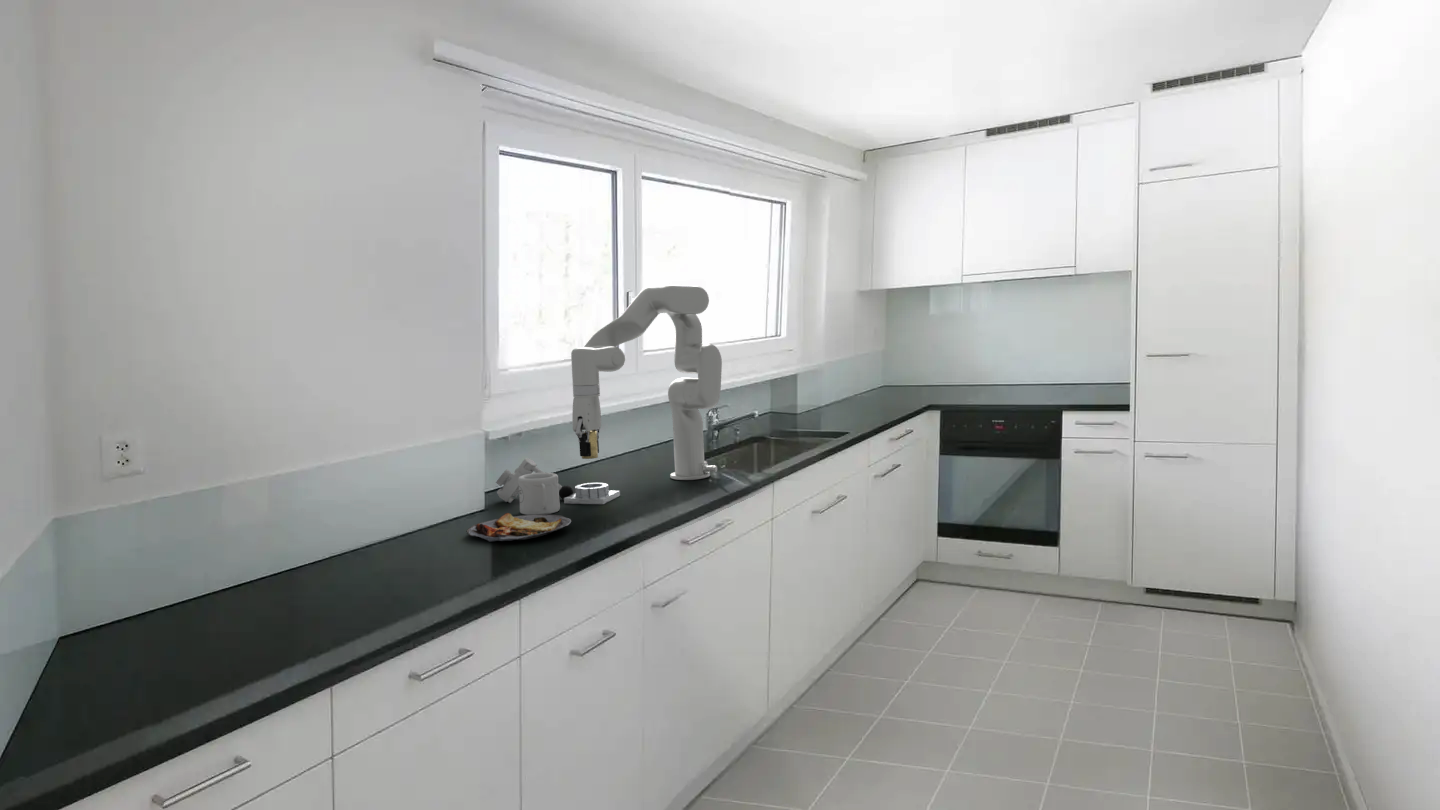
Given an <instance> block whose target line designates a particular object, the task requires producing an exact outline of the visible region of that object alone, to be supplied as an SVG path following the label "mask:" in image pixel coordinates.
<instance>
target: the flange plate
mask: <svg viewBox="0 0 1440 810" xmlns="http://www.w3.org/2000/svg"><path fill="white" fill-rule="evenodd" d="M574 490H575V493H574V492H573V494H572V495H570V496H568V497H566V498H564V500H563V501H564V502H563V503H564V504H570V505H571V504H572V505H573V504H576V505H577V504H578V505H579V504H580V505H605V504H607V503H609V502H610V501H612V500H614V499H617V498H618V497H620V496H621V490H610V486H609V484H608V483H606V482H587V483H581V484H577V485H575V486H574Z"/></svg>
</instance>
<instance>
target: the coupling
mask: <svg viewBox="0 0 1440 810" xmlns="http://www.w3.org/2000/svg"><path fill="white" fill-rule="evenodd" d="M585 436H586V434H585ZM597 440H598V439H597V431H590V434H589V442H590V443H591V456H581V459H582V460H589V459H590V460H591V459H597V458H599V453H598V448H597Z"/></svg>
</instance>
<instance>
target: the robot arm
mask: <svg viewBox="0 0 1440 810" xmlns="http://www.w3.org/2000/svg"><path fill="white" fill-rule="evenodd" d="M709 302H710V299H709V294H708V292H707V291H706V290H705V288H703V287H701V286H698V285H682V284H681V285H679V284H670V283H669V284H655V285H654V284H652V285H648V286H645V287H643V288H642V289H641V290H640V292H639V293H638V294H637V295H636V296H635V297H634V299H633V300H632V301H631V303H630V304H629V305H628V306H627V307H626V309H625V310H624V311H623V313H621V315H619V317H617V318H615V319H614V320H611V322H609V323H608V324H607V325H605V326H604V327H602V328H600V329H599V330H598V331H597V332H595V333H594V334H593V335H592V337H591V338H590V339H589V340H588V341H587V342H586V343H585V345H583V346H584V347H577V348H574V349H572V351H571V352H570V355H571V356H570V357H571V375H572V376H571V378H572V396H573V401H572V431H573V432H575V435H576V436H577V438H578V445H579V456H580V457H582V456H591V443H590V442H589V434H590V431H597V448H598V454H599V453H600V447H599V445H600V444H599V438H600V429H601V427H602V414H601V411H602V410H601V402H600V396H601V391H600V389H601V388H600V372H604V373H606V372H609V373H611V372H617V371H619V370H620V369H622V367H623V366H624V365H625V363H626V355H625V353H624V352H623V350H622V349H621V348H619V347H618V346H620V345H622V344H624V343H627V342H630V341H633V340H636V339H637V338H639V337H641V336H642V335H644V334H645V332H646V331H647V329H648V328H650V326H651V325H652V323H653V322H654V321H655V320H656V318H657V317H658V315H660V314H665V313H666V314H667V315H668V317H669V318H670V319H671V322H672V323H673V327H674V331H675V332H674V334H675V335H674V336H675V338H674V357H673V358H674V359H673V362H674V366H675V369H676V370H677V371H678V372H680V373H683V374H692V375H693V374H694V375H695V374H696V375H697V377H680V378H676V379H675V380H673V381H671V383H670V384H669V387H668V390H667V396H668V402H669V406H670V410H671V417H672V418H671V419H672V433H673V434H672V436H673V457H674V458H673V459H674V460H673V461H674V472H671V473H670V474H669V476H670V479H672V480H679V481H694V480H702V479H706V478H709V477H710V476H711V473H717V472H718V466H717V465H709V464H708V461H705V445H704V424H703V423H704V422H703V417H702V415H701V412H700V411H699V410H710V409H713V408H714V407H716V406H717V404H718V403H719V400H720V399H721V398H720V397H721V387H722V369H723V368H722V367H723V364H722V363H723V361H722V355H721V352H720V349H718V347H717V346H716V345H714V344H712V343H708V342H707V343H706V342H703V328H702V327H703V326H702V323H701V321H700V318H699V317H698V316H697V315H700V314H702V313H703V312H706V309H707V308H708V307H709ZM585 434H586V436H585Z"/></svg>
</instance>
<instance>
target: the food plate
mask: <svg viewBox="0 0 1440 810" xmlns="http://www.w3.org/2000/svg"><path fill="white" fill-rule="evenodd" d="M571 522H572V519H571V518H568V517H566V516H562V515H561V514H560V515H559V514H545V515H524V514H522V515H517V516H516V515H515V516H514V515H512V513H510V512H506V513H504V514H503V515H501V516H500V517H499V518H495V519H491V520H487V521H483V522H479V523H477V524H476V523H475V524H473V525H472V526H470V527H469V528H468V529H466V534H468V536H469V537H479V538H481V539H484V540H486V541H488V542H489V543H490V542H497V541H498V542H505V541H506V542H507V541H509V542H510V541H511V542H512V541H522V540H529V539H535V538H539V537H542V536H544V535H545V536H546V535H548V534H551V533H553V532H555V531H558V530H561V529H563V528H564V527H567V526H569V525H570V524H571Z"/></svg>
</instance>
